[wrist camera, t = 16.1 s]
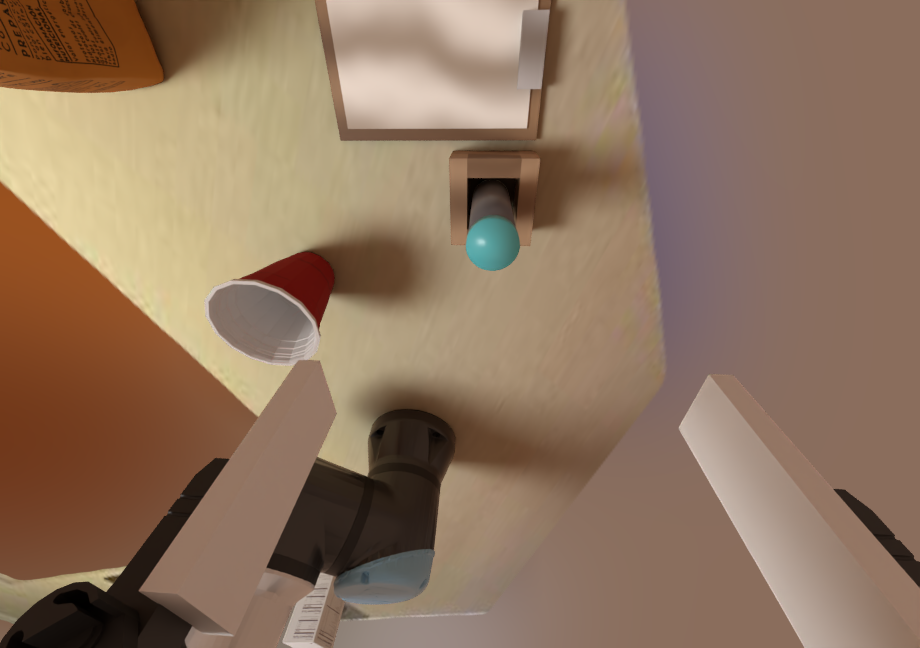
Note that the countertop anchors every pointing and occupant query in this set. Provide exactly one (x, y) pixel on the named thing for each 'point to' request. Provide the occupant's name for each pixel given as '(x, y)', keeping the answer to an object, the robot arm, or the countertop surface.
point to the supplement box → (316, 617)
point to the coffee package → (75, 46)
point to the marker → (492, 227)
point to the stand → (493, 166)
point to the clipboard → (435, 67)
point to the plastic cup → (274, 309)
